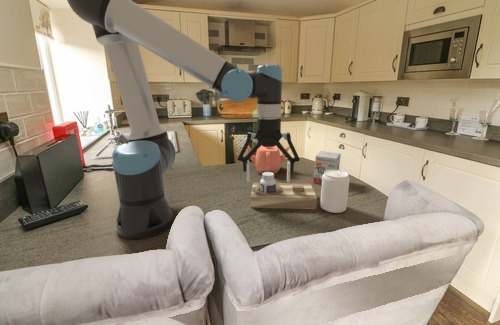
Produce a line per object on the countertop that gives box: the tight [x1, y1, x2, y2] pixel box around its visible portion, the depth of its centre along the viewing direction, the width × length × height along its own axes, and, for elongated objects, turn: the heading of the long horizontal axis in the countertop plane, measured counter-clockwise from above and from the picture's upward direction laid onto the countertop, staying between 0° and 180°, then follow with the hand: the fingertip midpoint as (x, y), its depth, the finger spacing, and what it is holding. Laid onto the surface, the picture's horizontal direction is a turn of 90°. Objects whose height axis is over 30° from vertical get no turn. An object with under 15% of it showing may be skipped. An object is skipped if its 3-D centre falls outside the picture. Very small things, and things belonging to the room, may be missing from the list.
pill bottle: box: [259, 171, 277, 193], centre depth 87 cm, size 5×5×10 cm
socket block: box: [250, 182, 318, 210], centre depth 87 cm, size 12×21×4 cm, turn 86°
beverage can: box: [319, 169, 351, 214], centre depth 80 cm, size 8×8×12 cm
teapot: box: [246, 145, 290, 175], centre depth 117 cm, size 15×17×13 cm
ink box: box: [313, 150, 342, 185], centre depth 103 cm, size 9×9×12 cm
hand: (268, 180), depth 86 cm, fingers open, 13 cm apart
